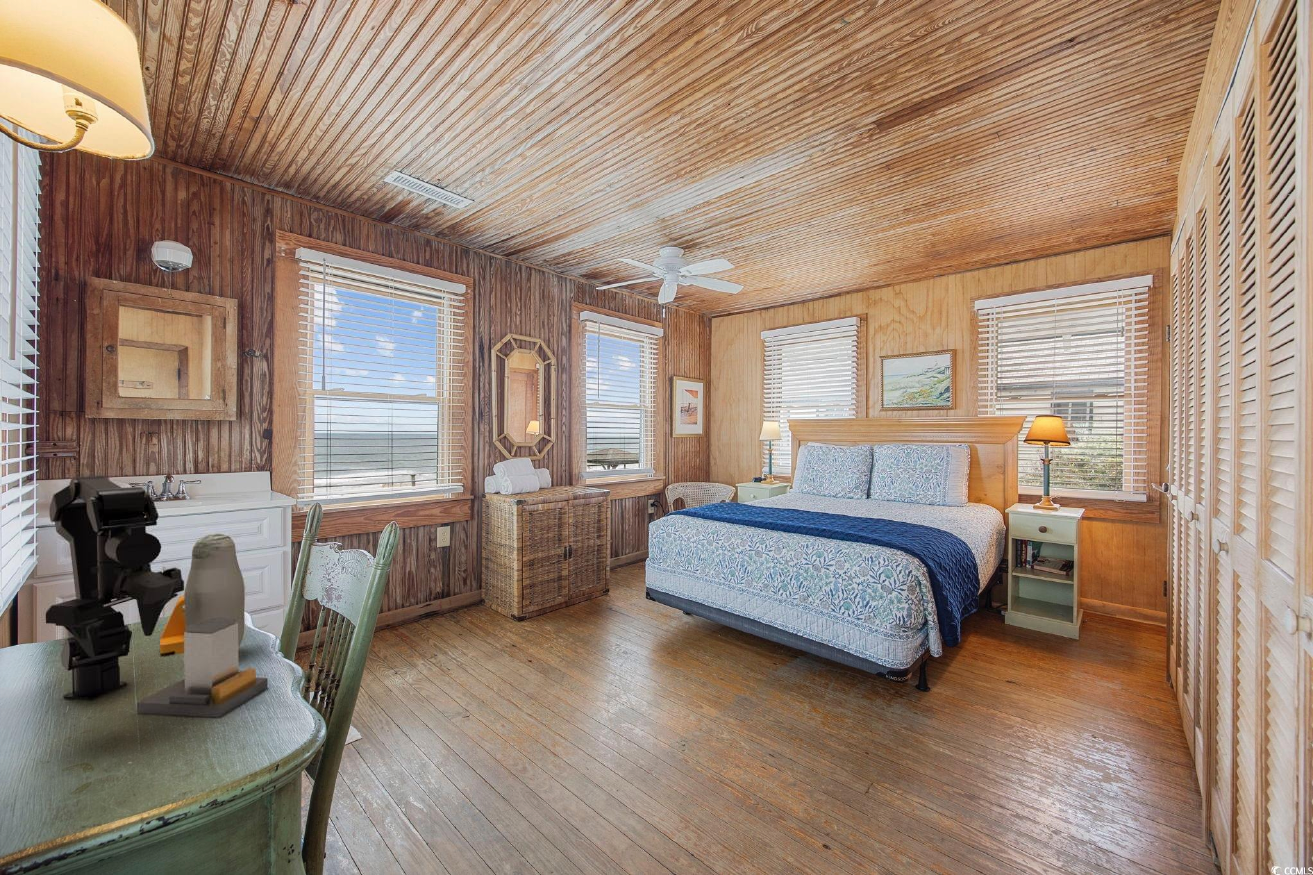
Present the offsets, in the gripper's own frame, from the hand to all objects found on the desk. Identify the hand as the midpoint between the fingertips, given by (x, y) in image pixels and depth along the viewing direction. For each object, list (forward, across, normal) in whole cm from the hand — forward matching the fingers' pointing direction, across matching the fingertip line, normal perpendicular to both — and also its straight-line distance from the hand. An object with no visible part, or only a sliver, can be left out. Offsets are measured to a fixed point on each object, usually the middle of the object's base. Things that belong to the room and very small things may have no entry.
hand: (122, 645), depth 97 cm
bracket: (+13, +30, +17) cm, 37 cm away
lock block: (+11, +7, -10) cm, 17 cm away
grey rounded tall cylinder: (+13, +24, +5) cm, 28 cm away
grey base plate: (+13, +7, -9) cm, 17 cm away
